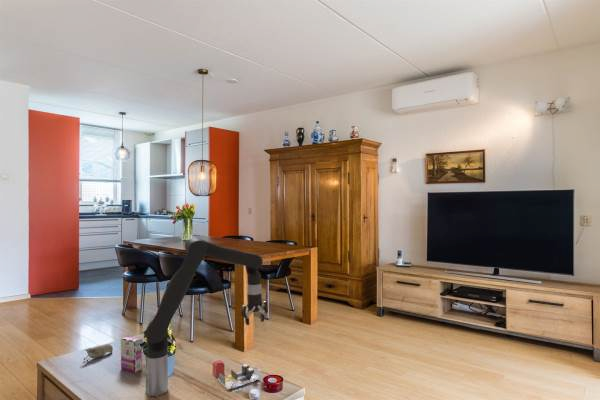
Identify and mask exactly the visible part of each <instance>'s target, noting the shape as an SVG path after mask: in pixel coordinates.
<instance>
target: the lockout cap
mask: <svg viewBox="0 0 600 400" xmlns="http://www.w3.org/2000/svg"><path fill="white" fill-rule="evenodd" d="M219 373H220V374H221V375H223V376H225V363H224V361H222V360H221V359H219V360H215V361H213V362H212V375H213V376H214V378H219Z"/></svg>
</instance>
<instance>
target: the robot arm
mask: <svg viewBox="0 0 600 400" xmlns="http://www.w3.org/2000/svg"><path fill="white" fill-rule="evenodd" d="M184 249H185V252H186V255H185V257H184V260H183V262H182V264H181V266H180V267H179V269H178V270H177V271H176V272H175V273H174V274H173V276H172V277H171V279H170V280H169V281H168V284H167V286H166V287H165V290H164V293H163V295H162V297H161V298H162V299H161V300H160V304H159V307H158V308H157V309H158V310H157V312H156V314H155V316H154V317H153V318H152V319H151V321H150V322H149V323H148V325H147V327H146V330H145V338H146V371H145V393H146V394H147V396H148V397H149V398H150V397H157V396H162V395H164V394H166V393H167V392H168V391H169V384H168V383H169V378H168V377H169V375H168V374H169V372H168V371H169V369H168V368H169V366H168V365H169V363H168V361H169V360H168V353H169V352H168V350H169V349H168V346H169V327H170V324H171V322H172V319H173V317H174V315H175V313H176V312H177V310H178V308H179V307H180V306H181V304H182V302H183V299H184V298H185V296H186V293H187V292H188V290H189V287H190V286H191V283H192V281H193V279H194V277H195V274H196V272H197V271H198V268H199V266H200V264H201V263H202V261H203V260H204V258H205V257H207V256H208V257H212V258H214V259H218V260H221V261H223V262H225V263H230V264H234V265H241V266H244V268H245V271H246V274H247V275H246V277H247V278H246V279H247V282H246V283H247V286H246V296H247V299H246V300H247V304H246V305H244V304H242V305H241V317H242V318H244V319H245V320H244V323H245V324H246V326H250V316H251V315H252V313H256V312H259V313H260V322H261V323H264V322H265V315H266V314H267V313H268V312H269V310H268V309H269V308H268V307H269V306H268V302H267V301H265V300H263V297H262V296H263V295H262V294H263V293H262V292H263V291H262V288H263V287H262V276H261V273H260V272H259V268H260V267H261V266H262V265H263V262H264V261H263V258H262V256H260V255H258V254H256V253H249V252H245V251H242V250H239V249H236V248H231V247H225V246H221V245H217V244H214V243H211V242H208V241H206V240H203V239H202V238H201V237H196V236H195V237H191V238H189V239H187V241H185V245H184ZM262 300H263V301H262Z"/></svg>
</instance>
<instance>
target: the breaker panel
mask: <svg viewBox="0 0 600 400" xmlns="http://www.w3.org/2000/svg"><path fill="white" fill-rule="evenodd" d="M249 380H250V379H249V378H248V377H247V374H245V375H244V374H243V373H242V370H241V371H238V372H235V370H234V369H230V374H227V375H221V374H220V373H219V377H217V382H219V384H221V386H223V388H225V389H226V391H227V392H228V391H231V390H230V389H231V386H232V384H234V383H236V382H238V381H242V382H244V383H248V382H249Z"/></svg>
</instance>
